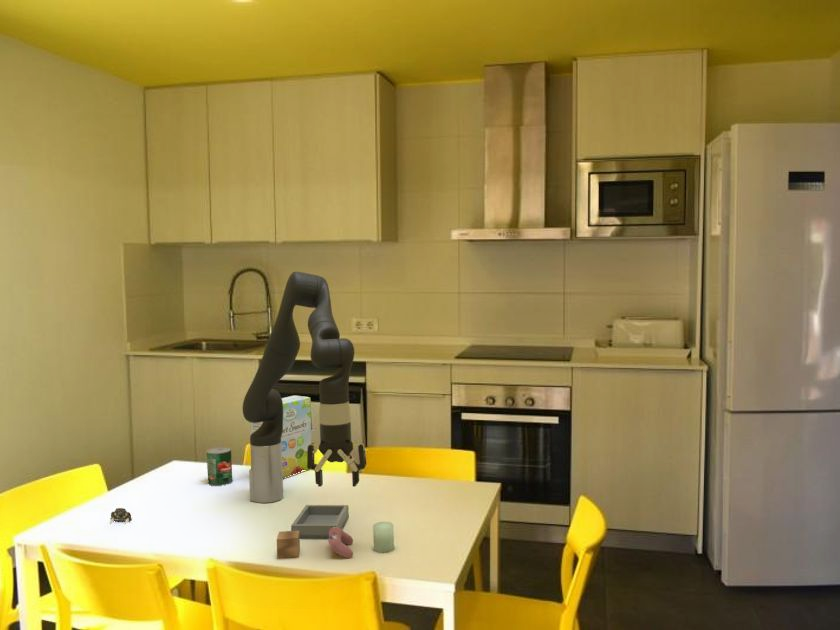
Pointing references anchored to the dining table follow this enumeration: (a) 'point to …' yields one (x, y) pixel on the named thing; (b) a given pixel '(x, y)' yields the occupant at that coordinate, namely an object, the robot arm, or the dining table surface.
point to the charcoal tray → (320, 520)
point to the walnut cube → (288, 544)
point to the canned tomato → (219, 466)
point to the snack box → (294, 433)
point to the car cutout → (120, 516)
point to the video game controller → (340, 542)
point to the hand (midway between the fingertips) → (337, 485)
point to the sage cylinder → (383, 537)
